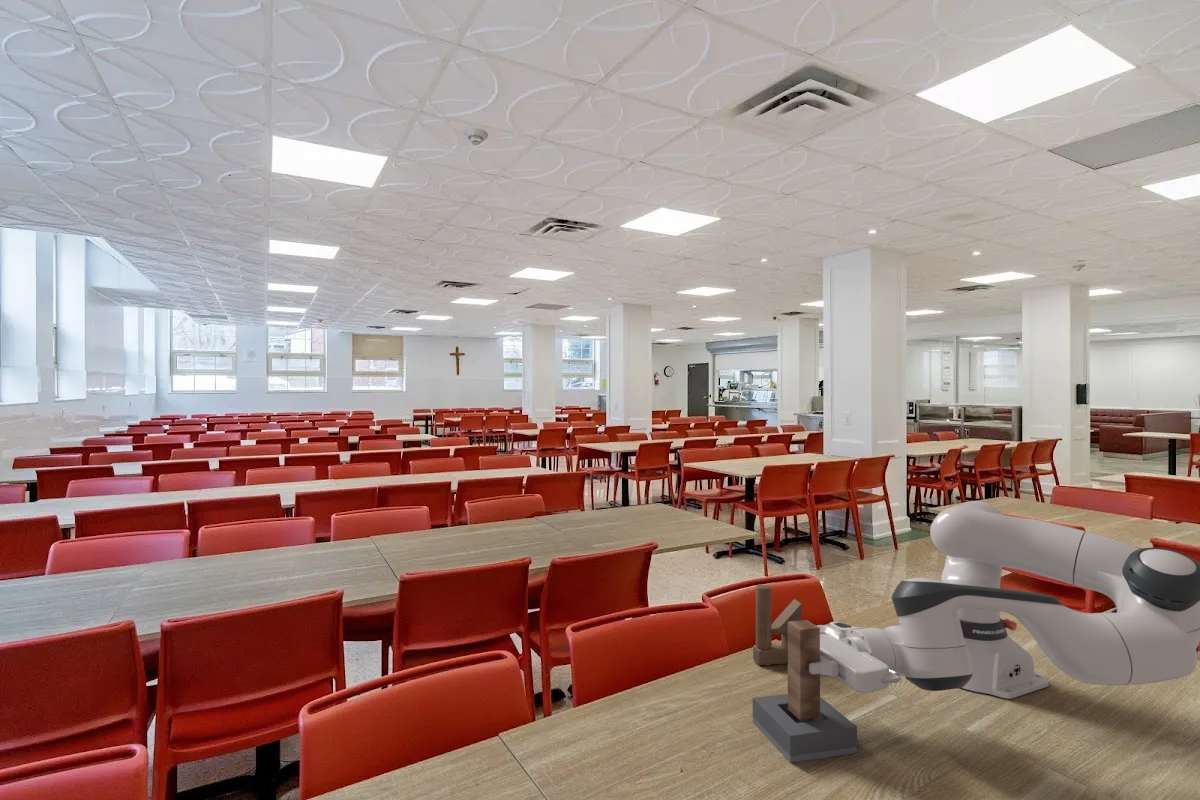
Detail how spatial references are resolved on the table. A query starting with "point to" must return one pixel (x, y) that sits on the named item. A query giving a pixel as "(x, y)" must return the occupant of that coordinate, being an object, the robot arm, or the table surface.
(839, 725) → the grey socket base
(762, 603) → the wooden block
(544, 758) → the table surface
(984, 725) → the table surface
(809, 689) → the brown rectangular bar
